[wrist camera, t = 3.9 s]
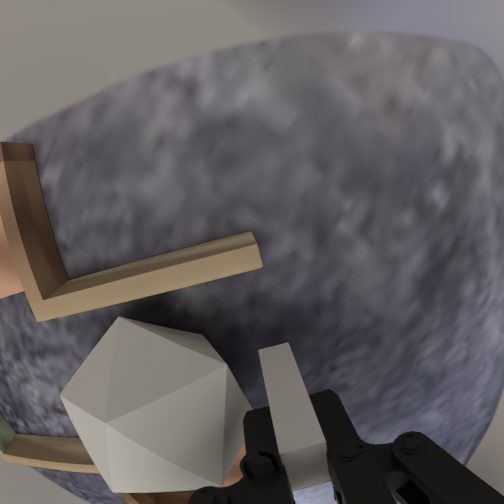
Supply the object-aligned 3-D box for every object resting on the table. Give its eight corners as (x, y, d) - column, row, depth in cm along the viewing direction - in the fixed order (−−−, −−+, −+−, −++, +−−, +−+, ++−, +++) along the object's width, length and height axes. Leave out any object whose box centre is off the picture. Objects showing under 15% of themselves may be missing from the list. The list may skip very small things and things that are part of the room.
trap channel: (310, 474, 21) (318, 500, 18) (60, 489, 20) (53, 508, 17) (212, 76, 13) (209, 54, 10) (-85, 226, 13) (-108, 234, 10)
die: (133, 418, 19) (217, 526, 12) (24, 374, 12) (83, 540, 5) (205, 332, 21) (319, 423, 14) (109, 256, 14) (232, 386, 8)
